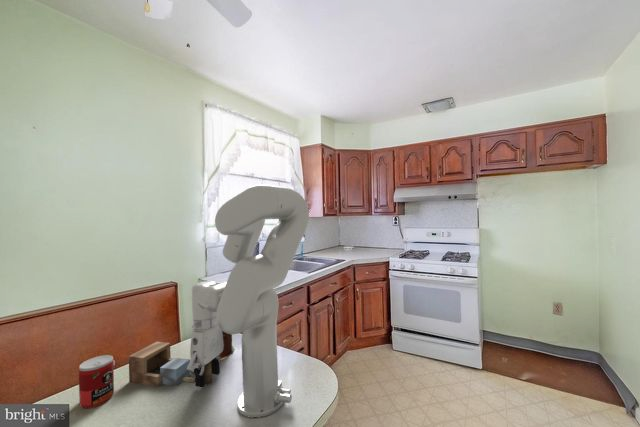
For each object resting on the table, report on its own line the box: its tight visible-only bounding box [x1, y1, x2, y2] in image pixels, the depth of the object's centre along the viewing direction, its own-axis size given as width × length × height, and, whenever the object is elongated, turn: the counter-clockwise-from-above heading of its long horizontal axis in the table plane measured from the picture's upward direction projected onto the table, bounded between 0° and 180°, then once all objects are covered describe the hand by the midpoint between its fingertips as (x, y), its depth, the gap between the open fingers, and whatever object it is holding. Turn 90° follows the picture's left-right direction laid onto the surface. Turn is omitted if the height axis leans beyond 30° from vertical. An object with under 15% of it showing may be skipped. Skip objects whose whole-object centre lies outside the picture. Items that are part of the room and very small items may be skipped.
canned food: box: [78, 354, 115, 409], centre depth 77 cm, size 8×8×11 cm
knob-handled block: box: [159, 357, 213, 387], centre depth 84 cm, size 16×6×6 cm, turn 76°
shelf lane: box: [128, 341, 175, 388], centre depth 88 cm, size 12×10×8 cm
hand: (207, 379), depth 83 cm, fingers open, 6 cm apart
